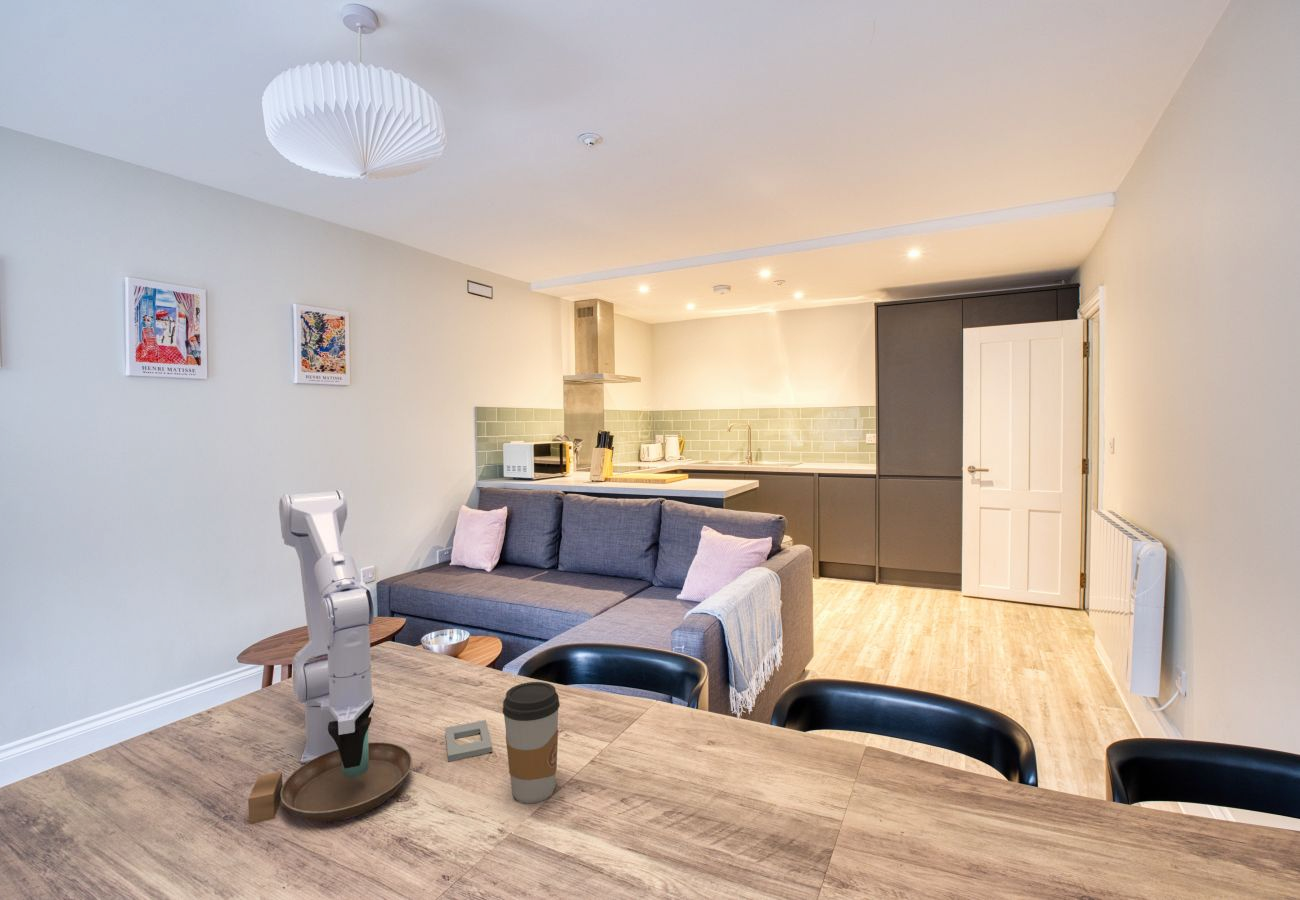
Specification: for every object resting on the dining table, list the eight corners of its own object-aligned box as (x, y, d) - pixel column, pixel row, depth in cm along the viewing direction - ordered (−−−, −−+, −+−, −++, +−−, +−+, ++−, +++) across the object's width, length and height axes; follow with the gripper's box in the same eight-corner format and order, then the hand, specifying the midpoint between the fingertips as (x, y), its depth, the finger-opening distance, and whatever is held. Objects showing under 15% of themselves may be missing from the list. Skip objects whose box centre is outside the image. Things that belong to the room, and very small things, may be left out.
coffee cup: (550, 811, 85) (547, 707, 85) (495, 805, 87) (491, 703, 87) (569, 777, 94) (567, 682, 93) (519, 772, 95) (516, 678, 95)
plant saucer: (363, 838, 81) (362, 816, 81) (250, 824, 85) (249, 803, 84) (435, 765, 99) (434, 746, 98) (338, 755, 102) (338, 738, 102)
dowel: (354, 762, 94) (354, 723, 94) (374, 765, 93) (373, 727, 93) (336, 774, 90) (336, 735, 90) (356, 778, 89) (355, 738, 89)
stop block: (259, 799, 90) (258, 775, 90) (283, 794, 91) (282, 771, 91) (249, 823, 84) (248, 798, 84) (274, 818, 85) (273, 793, 85)
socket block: (445, 733, 108) (445, 727, 108) (486, 725, 111) (485, 719, 111) (448, 761, 99) (448, 755, 99) (492, 752, 101) (492, 746, 101)
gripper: (326, 657, 96) (330, 741, 97) (311, 694, 83) (316, 791, 83) (375, 650, 99) (378, 732, 99) (368, 685, 85) (372, 779, 86)
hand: (353, 758), depth 92 cm, fingers closed on dowel, 4 cm apart
